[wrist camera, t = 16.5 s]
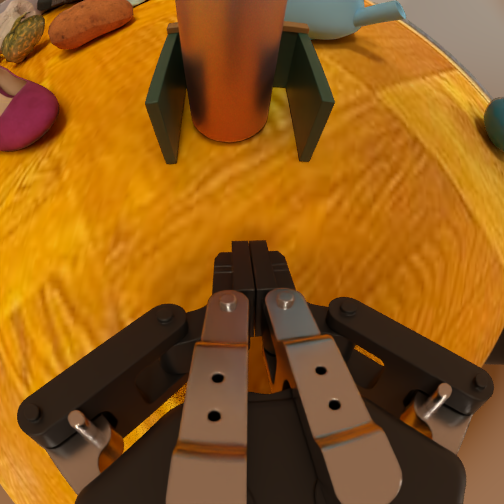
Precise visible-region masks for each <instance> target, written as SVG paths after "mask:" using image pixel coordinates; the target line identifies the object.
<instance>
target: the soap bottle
mask: <svg viewBox="0 0 504 504" xmlns="http://www.w3.org/2000/svg"><path fill="white" fill-rule="evenodd" d="M11 1H13V0H5V1H4V2H3V3H1V4H0V14H1V13H2V12H4V11H5V10H6V8H7V7H8V5H9V3H10V2H11ZM27 1H29V2H30V3H32V5H33V7H34V11H35V12H36V13H35V14H36V15H41V14H43V13H44V12H46V11H47V10H43V11H39V10H37V1H38V0H27Z"/></svg>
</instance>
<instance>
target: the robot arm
mask: <svg viewBox="0 0 504 504" xmlns="http://www.w3.org/2000/svg"><path fill="white" fill-rule="evenodd" d="M254 329H255V337H258V336H262V342H263V344H262V354H263V358H264V363H265V367H266V371H267V375H268V379H269V383H270V388H271V393H272V394H261V393H254V392H248V351H249V349H250V337H254ZM355 345H358V346H360V347H361V348H363V349H364V350H366V351H368V352H370V353H371V354H373V355H375V356H376V357H378V358H379V359H381V360H382V361H383V363H384V366H382V365H380V364H378V363H377V362H375V361H373V360H372V359H370V358H368V357H367V356H365V355H363V354H362V353H360V352H358V351H357V350H355V349H354V348H355ZM186 382H188V383H187V388H186V394H185V400H184V403H182V404H180V405H178V406H176V407H175V408H173V409H171V410H170V411H169V412H167V413H166V414H165V415H164V416H162V417H161V418H160V419H159V420H158V421H157V422H156V423H155V424H154V425H153V426H152V427H151V428H150V429H149V430H148V431H147V432H146V433H145V434H144V435H143V436H142V437H141V438H140V439H138V440H137V441H136V442H135V443H134V444H133V445H132V446H131V447H130V448H129V449H128V450H127V451H125V452H124V453H123V450H124V441H123V438H124V437H125V436H127V435H128V434H129V433H130V432H131V431H133V430H134V429H135V428H136V427H137V426H138V425H140V424H141V423H142V422H143V421H144V420H145V419H146V418H148V417H149V416H150V415H151V414H152V413H153V412H154V411H156V410H157V409H158V408H159V407H160V406H161V405H162V404H163V403H165V402H166V401H167V400H168V399H169V398H170V397H171V396H172V395H173V394H175V393H176V392H177V391H178V390H179V389H180V388H181V387H182V386H183V385H184V384H185V383H186ZM493 390H494V384H493V381H492V378H491V377H490V375H489V374H488V373H487V372H486V371H485V370H483V369H482V368H480V367H478V366H476V365H475V364H473V363H471V362H469V361H467V360H466V359H464V358H462V357H460V356H458V355H456V354H455V353H453V352H451V351H449V350H447V349H446V348H444V347H442V346H440V345H438V344H437V343H435V342H433V341H431V340H429V339H427V338H426V337H424V336H422V335H420V334H418V333H416V332H415V331H413V330H411V329H409V328H407V327H405V326H404V325H402V324H400V323H398V322H396V321H394V320H393V319H391V318H389V317H387V316H385V315H383V314H382V313H380V312H378V311H376V310H374V309H372V308H370V307H369V306H367V305H365V304H363V303H361V302H359V301H358V300H355V299H353V298H349V297H339V298H336V299H334V300H332V301H331V302H330V304H329V307H325V306H318V305H313V304H310V303H308V302H306V300H305V298H304V296H303V295H302V294H301V293H300V292H298V291H296V289H295V286H294V283H293V280H292V277H291V274H290V271H289V268H288V265H287V262H286V260H285V257H284V256H283V255H282V254H281V253H280V252H279V251H268V247H267V243H266V240H256V241H249V244H248V241H232V252H221V253H219V254H218V256H217V257H216V258H215V262H214V275H213V290H212V296H211V297H210V298H209V300H208V303H207V305H206V306H204V307H203V308H201V309H198V310H195V311H191V312H187V313H186V312H185V310H184V309H183V308H182V307H180V306H178V305H175V304H162V305H159V306H156V307H154V308H153V309H151V310H150V311H148V312H147V313H145V314H144V315H142V316H141V317H140V318H138V319H137V320H135V321H134V322H132V323H131V324H130V325H128V326H127V327H125V328H124V329H123V330H121V331H120V332H118V333H117V334H115V335H114V336H113V337H111V338H110V339H108V340H107V341H105V342H104V343H103V344H101V345H100V346H98V347H97V348H96V349H94V350H93V351H91V352H90V353H89V354H87V355H86V356H84V357H83V358H82V359H80V360H79V361H77V362H76V363H75V364H73V365H72V366H70V367H69V368H68V369H66V370H65V371H63V372H62V373H61V374H59V375H58V376H56V377H55V378H54V379H52V380H51V381H49V382H48V383H47V384H45V385H44V386H43V387H41V388H40V389H38V390H37V391H36V392H34V393H33V394H31V395H30V396H29V397H27V398H26V399H25V400H24V401H23V402H22V403H21V405H20V406H19V409H18V413H17V420H18V424H19V426H20V428H21V429H22V430H23V431H24V432H25V433H26V434H27V435H28V436H30V437H31V438H32V439H33V440H35V441H36V442H37V443H38V444H39V445H40V446H41V447H42V448H44V449H45V450H46V451H47V453H48V454H49V456H50V457H51V459H52V460H53V462H54V464H55V465H56V466H57V468H58V469H59V471H60V472H61V474H62V475H63V476H64V478H65V479H66V481H67V482H68V483H69V485H70V486H71V487H72V489H73V490H74V491H75V492H76V494H77V495H78V496H77V499H76V501H75V504H463V501H464V493H465V487H466V472H465V468H464V466H463V464H462V462H461V460H460V459H459V457H457V453H458V451H459V449H460V446H461V444H462V441H463V439H464V437H465V434H466V431H467V429H468V426H469V423H470V420H471V417H472V415H473V414H474V413H475V412H476V411H477V410H478V409H479V408H480V407H481V406H482V405H483V404H484V403H485V402H486V401H487V400H488V399H489V398H490V397H491V395H492V394H493ZM122 453H123V454H122Z"/></svg>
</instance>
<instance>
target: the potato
mask: <svg viewBox="0 0 504 504" xmlns="http://www.w3.org/2000/svg"><path fill="white" fill-rule="evenodd" d="M132 17H133V6H132V5H131V3H130V2H128V1H127V0H84V1H82V2H79V3H77V4H76V5H74V6H72V7H71V8H69V9H67V10H65V11H63V12H61V13H60V14H59V15H58V16H57V17H56V18H55V19H54V20H53V22H52V23H51V25H50V26H49V30H48V34H49V37H50V40H51V42H52V44H53V45H55V46H57V47H58V48H60V49H75V48H78V47H80V46H82V45H83V44H85V43H87V42H89V41H90V40H92V39H94V38H96V37H99V36H101V35H103V34H105V33H108V32H110V31H112V30H115V29H117V28H119V27H122V26H123V25H125V24H126V23H128V22H129V21H130V20H131V19H132Z"/></svg>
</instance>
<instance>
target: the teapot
mask: <svg viewBox="0 0 504 504" xmlns="http://www.w3.org/2000/svg"><path fill="white" fill-rule="evenodd" d="M402 19H406V14H405V12H404V10H403V8H402V6H401V5H400V3H399V2H398V1H396V0H395V1H390V2H386V3H381V4H377V5H373V6H369V7H366V8H364V0H287V6H286V12H285V17H284V21H289V22H298V23H305V24H307V25H308V27H309V33H308V35H309V38H310V40H314V39H324V40H330V39H338V38H341V37H344V36H347V35H350V34H352V33H354V32H356V31H358V30H359V29H360V28H361V26H366V25H371V24H376V23H381V22H388V21H394V20H402Z"/></svg>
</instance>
